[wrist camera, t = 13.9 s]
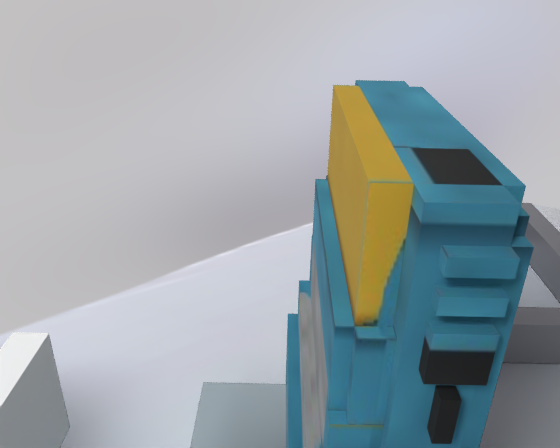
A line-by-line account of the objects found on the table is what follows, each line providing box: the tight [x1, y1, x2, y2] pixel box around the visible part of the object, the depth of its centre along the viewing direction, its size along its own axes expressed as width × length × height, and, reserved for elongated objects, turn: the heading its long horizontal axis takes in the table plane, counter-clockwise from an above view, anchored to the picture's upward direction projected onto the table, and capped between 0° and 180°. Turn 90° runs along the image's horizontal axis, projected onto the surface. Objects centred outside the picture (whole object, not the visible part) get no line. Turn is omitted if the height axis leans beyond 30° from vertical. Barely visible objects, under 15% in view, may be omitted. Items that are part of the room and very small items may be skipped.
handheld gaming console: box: [286, 80, 534, 448], centre depth 16 cm, size 10×4×15 cm, turn 179°
